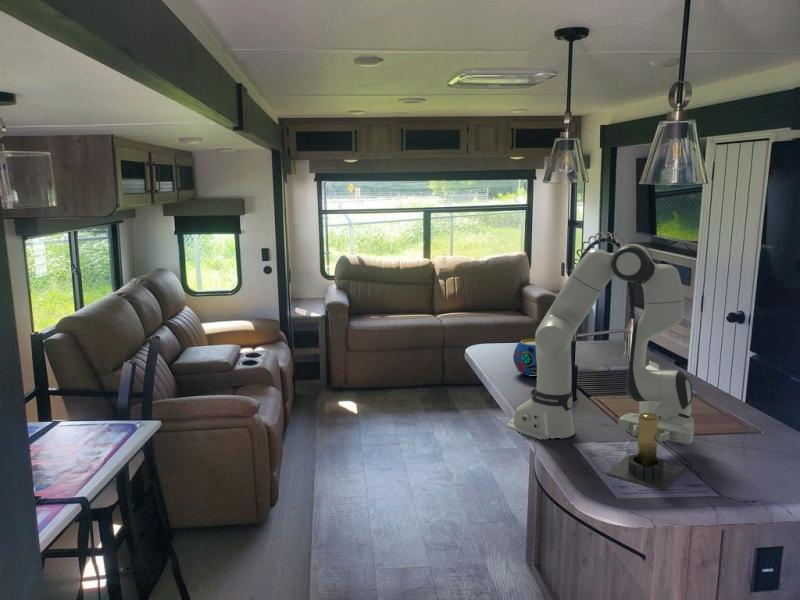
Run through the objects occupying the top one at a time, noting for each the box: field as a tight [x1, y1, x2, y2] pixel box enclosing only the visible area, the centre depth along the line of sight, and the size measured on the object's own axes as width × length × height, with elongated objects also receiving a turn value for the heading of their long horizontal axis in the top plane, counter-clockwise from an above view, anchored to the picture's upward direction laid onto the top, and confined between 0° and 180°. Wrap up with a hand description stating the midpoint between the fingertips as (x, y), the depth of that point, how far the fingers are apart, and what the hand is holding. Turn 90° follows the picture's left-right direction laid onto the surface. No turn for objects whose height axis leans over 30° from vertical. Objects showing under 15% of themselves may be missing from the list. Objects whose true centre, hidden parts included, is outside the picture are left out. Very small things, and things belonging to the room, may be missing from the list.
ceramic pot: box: [512, 338, 537, 375], centre depth 276 cm, size 18×18×15 cm
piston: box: [636, 413, 658, 466], centre depth 180 cm, size 5×5×15 cm
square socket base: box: [606, 453, 685, 492], centre depth 181 cm, size 16×16×4 cm
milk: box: [638, 360, 660, 414], centre depth 214 cm, size 6×6×22 cm
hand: (646, 436), depth 179 cm, fingers closed on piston, 5 cm apart
